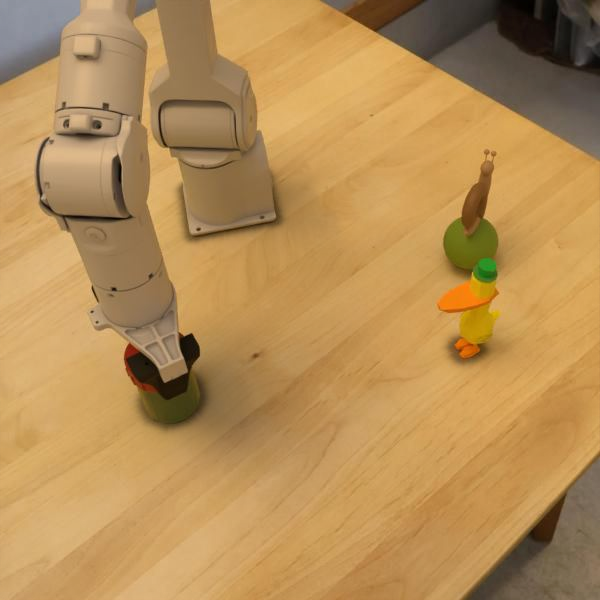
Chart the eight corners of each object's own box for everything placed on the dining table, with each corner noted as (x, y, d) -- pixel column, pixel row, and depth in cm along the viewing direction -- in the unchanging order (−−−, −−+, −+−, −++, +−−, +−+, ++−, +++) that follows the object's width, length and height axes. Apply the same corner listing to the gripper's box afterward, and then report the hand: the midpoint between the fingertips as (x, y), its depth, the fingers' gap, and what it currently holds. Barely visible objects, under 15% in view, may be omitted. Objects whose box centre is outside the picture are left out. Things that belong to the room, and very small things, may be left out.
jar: (196, 371, 82) (183, 327, 76) (203, 417, 78) (190, 374, 73) (142, 382, 81) (125, 338, 76) (147, 428, 78) (129, 386, 72)
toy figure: (442, 375, 79) (451, 295, 70) (425, 347, 81) (431, 265, 72) (506, 351, 81) (524, 268, 71) (487, 323, 83) (502, 240, 73)
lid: (189, 333, 77) (185, 320, 76) (196, 385, 74) (193, 373, 72) (126, 345, 77) (121, 333, 75) (130, 399, 73) (125, 387, 72)
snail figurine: (504, 242, 89) (519, 155, 80) (486, 286, 85) (499, 201, 76) (454, 228, 91) (463, 142, 81) (434, 271, 87) (441, 186, 78)
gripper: (45, 222, 68) (90, 325, 78) (107, 352, 59) (147, 447, 70) (128, 189, 69) (161, 294, 80) (199, 311, 61) (225, 409, 72)
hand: (160, 363), depth 75 cm, fingers open, 6 cm apart
